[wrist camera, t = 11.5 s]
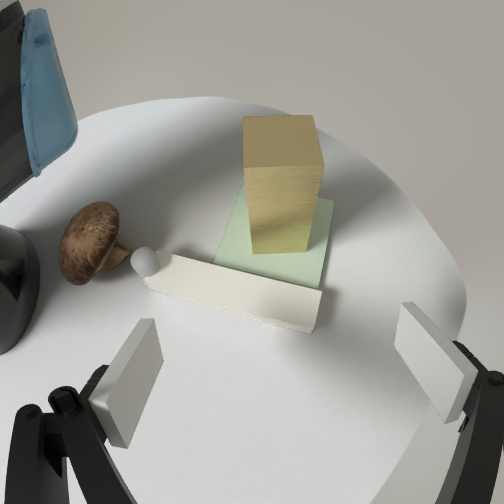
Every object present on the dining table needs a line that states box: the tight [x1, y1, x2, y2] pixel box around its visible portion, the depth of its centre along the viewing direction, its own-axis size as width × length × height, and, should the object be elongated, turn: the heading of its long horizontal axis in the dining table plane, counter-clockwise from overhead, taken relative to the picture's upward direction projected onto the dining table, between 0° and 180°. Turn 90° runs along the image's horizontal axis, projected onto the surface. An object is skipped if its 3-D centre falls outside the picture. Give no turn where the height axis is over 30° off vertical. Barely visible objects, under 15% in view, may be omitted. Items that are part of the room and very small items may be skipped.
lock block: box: [243, 115, 324, 255], centre depth 23 cm, size 4×4×11 cm
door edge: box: [131, 247, 322, 334], centre depth 24 cm, size 15×3×3 cm, turn 74°
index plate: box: [213, 182, 335, 290], centre depth 28 cm, size 9×9×1 cm
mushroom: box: [59, 202, 132, 285], centre depth 26 cm, size 8×8×6 cm
